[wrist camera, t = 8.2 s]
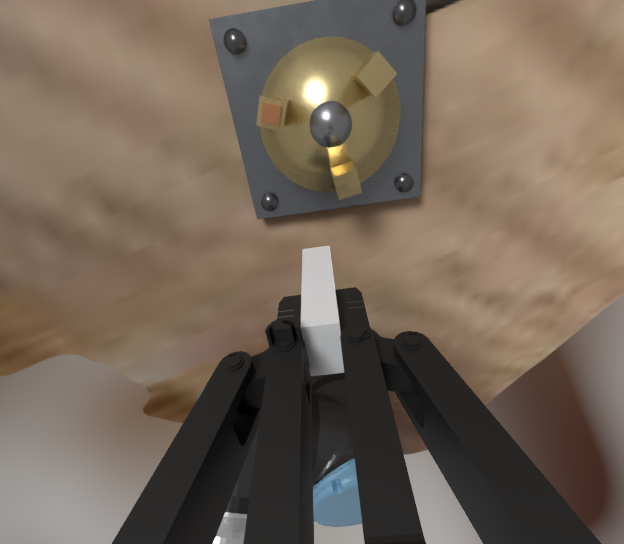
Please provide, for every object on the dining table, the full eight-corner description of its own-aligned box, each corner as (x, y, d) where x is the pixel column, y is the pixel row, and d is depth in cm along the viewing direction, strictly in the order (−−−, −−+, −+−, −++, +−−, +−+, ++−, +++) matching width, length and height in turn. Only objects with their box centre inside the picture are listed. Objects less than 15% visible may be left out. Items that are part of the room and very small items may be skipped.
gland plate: (415, 191, 41) (421, 198, 39) (259, 213, 43) (256, 221, 40) (419, -15, 31) (428, -22, 29) (214, 22, 32) (207, 18, 30)
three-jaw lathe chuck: (414, 59, 32) (436, 56, 27) (371, 195, 39) (382, 215, 34) (272, 21, 31) (264, 10, 25) (254, 171, 38) (245, 188, 32)
